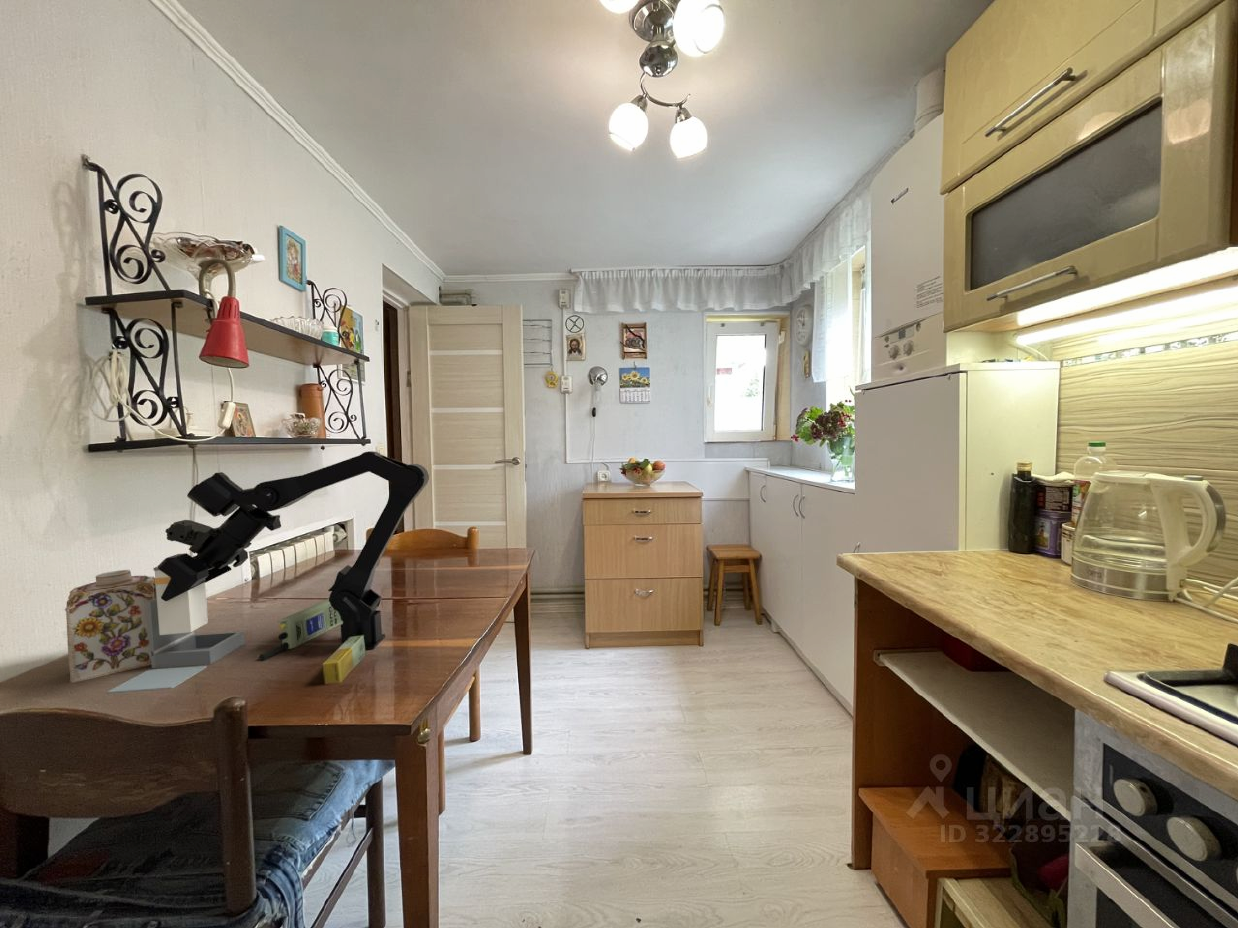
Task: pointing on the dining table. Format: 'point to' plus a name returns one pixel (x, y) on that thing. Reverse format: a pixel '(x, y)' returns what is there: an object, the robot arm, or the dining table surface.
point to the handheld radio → (305, 626)
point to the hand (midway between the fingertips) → (173, 595)
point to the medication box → (344, 659)
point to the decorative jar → (109, 625)
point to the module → (180, 607)
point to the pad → (158, 679)
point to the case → (187, 644)
